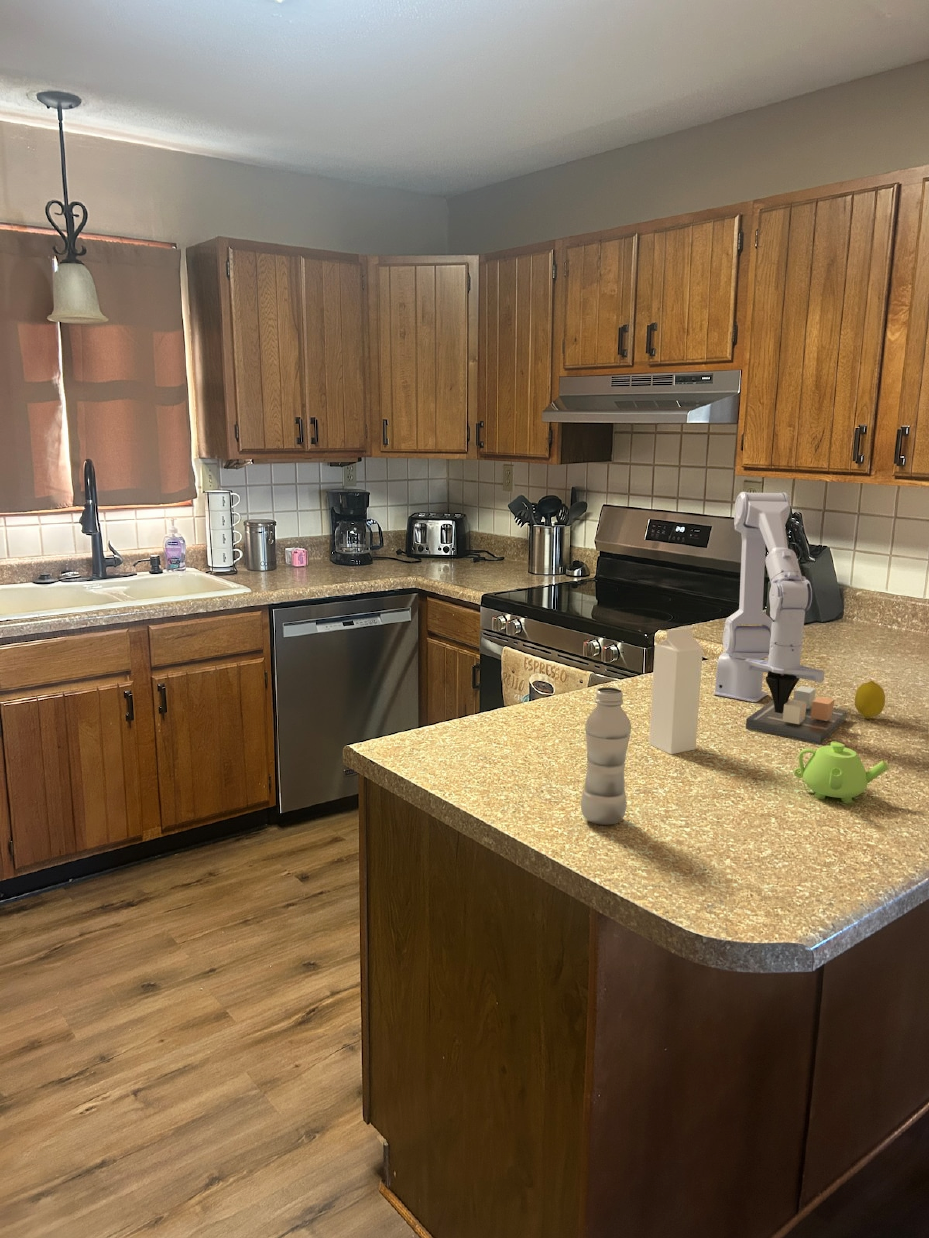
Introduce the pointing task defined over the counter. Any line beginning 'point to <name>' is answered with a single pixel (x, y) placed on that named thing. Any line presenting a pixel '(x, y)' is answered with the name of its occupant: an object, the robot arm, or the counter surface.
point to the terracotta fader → (822, 708)
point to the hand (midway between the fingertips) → (779, 711)
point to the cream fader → (794, 711)
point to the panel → (804, 731)
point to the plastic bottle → (606, 759)
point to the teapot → (836, 772)
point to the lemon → (870, 699)
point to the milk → (676, 692)
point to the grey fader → (805, 695)
